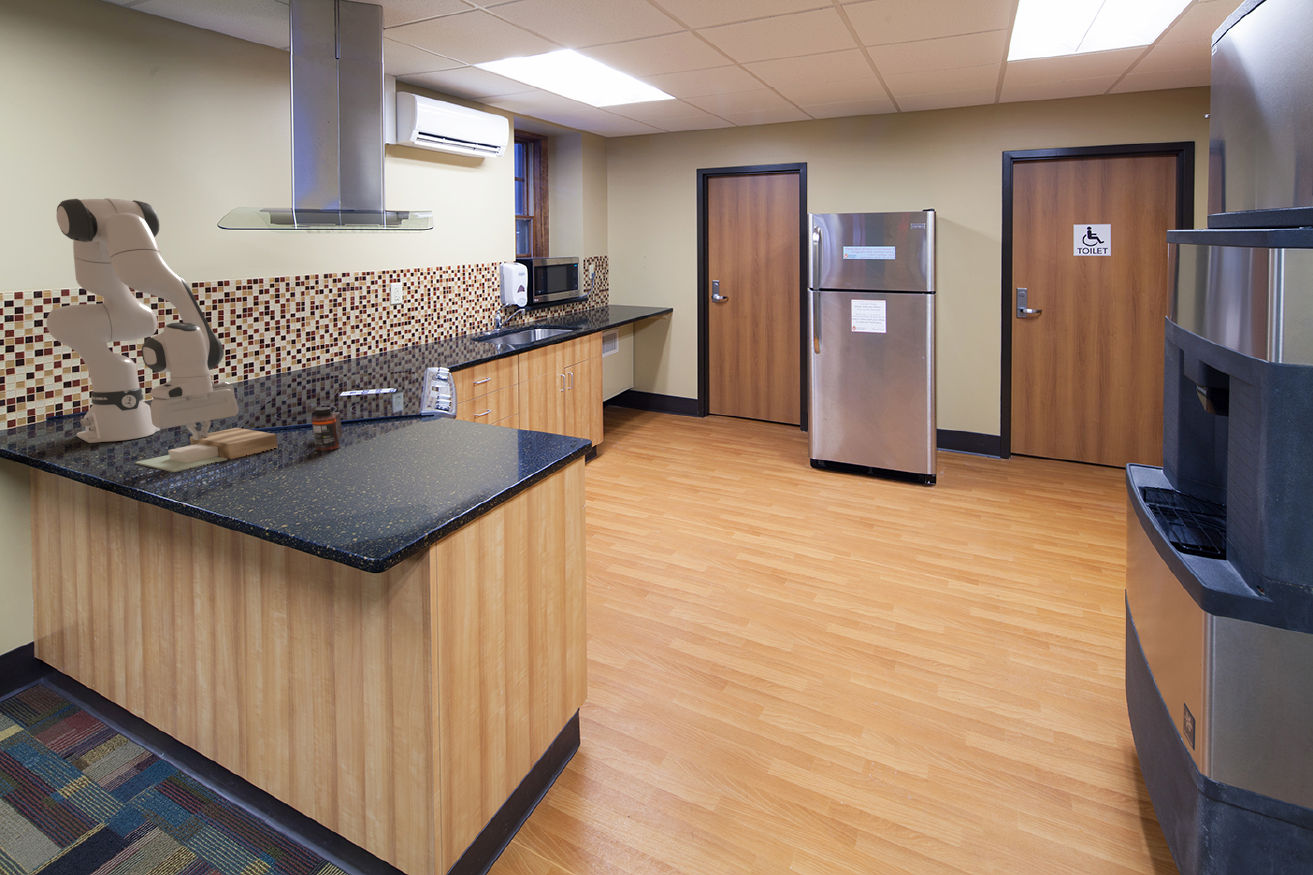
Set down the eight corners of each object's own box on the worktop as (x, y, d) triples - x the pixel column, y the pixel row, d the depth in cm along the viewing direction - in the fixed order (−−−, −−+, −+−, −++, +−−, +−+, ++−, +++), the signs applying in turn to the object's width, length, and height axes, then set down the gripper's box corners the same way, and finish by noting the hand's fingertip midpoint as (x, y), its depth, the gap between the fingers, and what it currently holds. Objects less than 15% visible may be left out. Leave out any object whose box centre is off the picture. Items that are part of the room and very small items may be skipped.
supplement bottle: (332, 445, 200) (328, 405, 197) (343, 448, 196) (339, 407, 194) (311, 449, 195) (306, 408, 193) (322, 452, 192) (317, 411, 189)
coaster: (169, 459, 185) (168, 450, 184) (201, 452, 192) (199, 443, 191) (187, 462, 181) (185, 453, 181) (218, 455, 188) (217, 446, 187)
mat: (135, 463, 182) (135, 461, 182) (188, 452, 194) (188, 450, 193) (174, 472, 174) (173, 470, 174) (227, 459, 185) (227, 458, 185)
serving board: (192, 451, 194) (189, 437, 193) (239, 441, 205) (237, 427, 204) (231, 459, 186) (228, 444, 185) (277, 448, 197) (275, 434, 196)
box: (315, 442, 204) (312, 416, 202) (320, 437, 210) (317, 412, 208) (338, 440, 205) (335, 415, 203) (342, 436, 211) (340, 411, 209)
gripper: (225, 380, 194) (232, 429, 198) (143, 391, 177) (152, 445, 180) (239, 381, 191) (246, 432, 195) (156, 393, 174) (166, 448, 177)
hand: (200, 438), depth 187 cm, fingers closed
